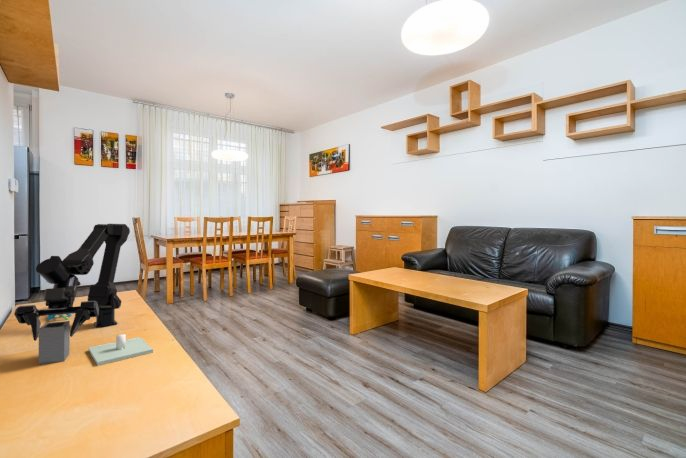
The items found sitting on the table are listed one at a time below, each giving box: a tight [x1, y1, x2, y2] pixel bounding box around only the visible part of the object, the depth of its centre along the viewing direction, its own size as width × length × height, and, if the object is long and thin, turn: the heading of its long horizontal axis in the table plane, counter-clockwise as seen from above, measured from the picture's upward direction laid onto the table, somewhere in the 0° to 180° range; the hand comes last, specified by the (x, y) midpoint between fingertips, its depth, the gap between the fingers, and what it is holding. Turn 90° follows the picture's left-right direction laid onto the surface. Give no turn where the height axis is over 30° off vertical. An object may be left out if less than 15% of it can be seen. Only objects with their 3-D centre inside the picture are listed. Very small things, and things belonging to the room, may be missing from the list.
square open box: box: [38, 320, 71, 365], centre depth 96 cm, size 6×6×10 cm
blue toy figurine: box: [46, 314, 72, 321], centre depth 133 cm, size 11×6×10 cm
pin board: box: [88, 333, 154, 367], centre depth 102 cm, size 14×14×5 cm
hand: (53, 338), depth 94 cm, fingers open, 8 cm apart
